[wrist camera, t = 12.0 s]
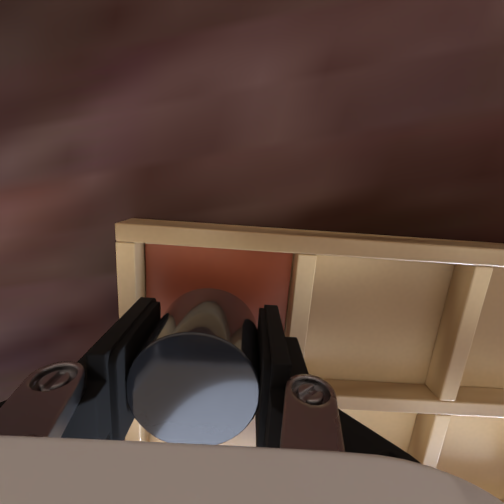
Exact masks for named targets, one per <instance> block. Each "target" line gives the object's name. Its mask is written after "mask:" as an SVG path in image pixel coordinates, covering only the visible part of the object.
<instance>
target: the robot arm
mask: <svg viewBox="0 0 504 504" xmlns="http://www.w3.org/2000/svg"><path fill="white" fill-rule="evenodd" d="M160 319H161V305H160V302H156V299H155V298H148V297H141V298H139V299H138V300H137V301H136V302H135V303H134V304H133V305H132V307H131V308H130V309H129V310H128V311H127V312H126V313H125V314H124V315H123V316H122V317H121V318H120V319H119V320H118V321H117V322H116V323H115V324H114V325H113V326H112V327H111V328H110V329H109V330H108V331H107V332H106V333H105V334H104V335H103V336H102V337H101V338H100V339H99V340H98V341H97V342H96V343H95V344H94V345H93V346H92V347H91V348H90V349H89V350H88V352H87V353H86V354H85V355H84V356H83V357H82V358H81V359H80V360H79V361H78V362H74V361H64V362H57V363H53V364H50V365H47V366H44V367H42V368H40V369H38V370H36V371H35V372H33V373H31V374H30V375H29V376H28V377H27V378H26V379H25V380H24V381H23V382H22V383H21V384H20V386H19V387H18V388H17V389H16V390H15V391H14V393H13V394H12V395H11V396H10V397H9V398H8V400H6V401H3V402H0V504H504V502H502V501H501V500H499V499H498V498H496V497H495V496H493V495H492V494H491V493H489V492H487V491H485V490H483V489H482V488H480V487H478V486H476V485H474V484H472V483H470V482H468V481H466V480H464V479H462V478H460V477H457V476H454V475H452V474H449V473H447V472H444V471H441V470H439V469H436V468H434V467H431V466H427V465H424V464H421V463H420V462H419V461H418V460H416V459H415V458H414V457H412V456H411V455H410V454H408V453H407V452H405V451H404V450H402V449H401V448H399V447H397V446H396V445H394V444H393V443H391V442H390V441H388V440H387V439H385V438H383V437H382V436H380V435H379V434H377V433H376V432H374V431H373V430H371V429H369V428H368V427H366V426H365V425H363V424H362V423H360V422H359V421H357V420H355V419H354V418H352V417H351V416H349V415H348V414H346V413H345V412H343V411H341V410H340V409H338V404H337V398H336V393H335V391H334V389H333V387H332V386H331V385H330V384H329V383H328V382H326V381H325V380H324V379H322V378H320V377H318V376H314V375H311V374H309V373H308V370H307V367H306V364H305V361H304V357H303V354H302V351H301V348H300V345H299V342H298V339H297V337H285V334H284V330H283V326H282V322H281V318H280V314H279V309H278V306H277V305H264V308H259V315H258V327H257V334H258V351H259V367H260V398H259V407H258V410H257V412H256V414H255V424H256V447H249V446H230V445H208V444H186V443H165V442H144V441H123V440H124V438H125V437H126V435H127V433H128V431H129V428H130V426H131V424H132V422H133V420H134V418H135V417H134V416H133V414H132V413H131V410H130V408H129V406H128V403H127V399H126V377H127V373H128V370H129V367H130V365H131V363H132V362H133V360H134V358H135V357H136V355H137V354H138V352H139V351H140V349H141V348H142V346H143V345H144V343H145V342H146V340H147V339H148V337H149V336H150V334H151V333H152V331H153V330H154V328H155V327H156V325H157V324H158V322H159V321H160Z"/></svg>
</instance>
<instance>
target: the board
mask: <svg viewBox="0 0 504 504" xmlns="http://www.w3.org/2000/svg"><path fill="white" fill-rule="evenodd" d="M115 235H116V241H118V242H116V263H117V284H118V305H119V319H120V318H121V317H122V316H123V315H124V314H125V313H126V312H127V311H128V310H129V309H130V308H131V307H132V305H133V304H134V303H135V302H136V301H137V300H138V299H139V298H141V297H148V298H155V299H156V302H160V305H161V318H162V316H163V315H164V313H165V312H166V310H167V309H168V307H169V306H170V305H171V304H172V303H173V302H174V301H175V300H176V299H177V298H178V297H180V296H181V295H183V294H185V293H187V292H190V291H192V290H196V289H203V288H213V289H219V290H223V291H226V292H229V293H231V294H233V295H235V296H236V297H238V298H239V299H241V300H242V301H243V302H244V303H245V304H246V305H247V306H248V308H249V309H250V310H251V312H252V314H253V316H254V318H255V321H256V324H257V327H258V315H259V308H264V305H277V306H278V309H279V314H280V318H281V322H282V326H283V330H284V334H285V337H297V339H298V342H299V345H300V348H301V351H302V354H303V357H304V361H305V364H306V367H307V370H308V373H309V374H311V375H314V376H318V377H320V378H322V379H324V380H325V381H326V382H328V383H329V384H330V385H331V386H332V387H333V389H334V391H335V393H336V398H337V404H338V409H340V410H341V411H343V412H345V413H346V414H348V415H349V416H351V417H352V418H354V419H355V420H357V421H359V422H360V423H362V424H363V425H365V426H366V427H368V428H369V429H371V430H373V431H374V432H376V433H377V434H379V435H380V436H382V437H383V438H385V439H387V440H388V441H390V442H391V443H393V444H394V445H396V446H397V447H399V448H401V449H402V450H404V451H405V452H407V453H408V454H410V455H411V456H412V457H414V458H415V459H416V460H418V461H419V462H420V463H421V464H424V465H427V466H431V467H434V468H436V469H439V470H441V471H444V472H447V473H449V474H452V475H454V476H457V477H460V478H462V479H464V480H466V481H468V482H470V483H472V484H474V485H476V486H478V487H480V488H482V489H483V490H485V491H487V492H489V493H491V494H492V495H493V496H495V497H496V498H498V499H499V500H501V501H502V502H504V243H493V242H478V241H463V240H449V239H434V238H420V237H405V236H390V235H376V234H361V233H346V232H332V231H317V230H303V229H288V228H273V227H259V226H244V225H229V224H215V223H200V222H186V221H171V220H156V219H142V218H131V219H128V220H125V221H121V222H117V223H115ZM125 441H144V442H164V441H162V440H160V439H158V438H156V437H154V436H153V435H151V434H150V433H149V432H147V431H146V430H145V429H144V428H143V427H142V426H141V425H140V424H139V423H138V422H137V420H136V419H135V418H134V420H133V422H132V424H131V426H130V428H129V431H128V433H127V435H126V437H125ZM165 443H166V442H165ZM219 445H230V446H249V447H256V424H255V416H254V418H253V420H252V421H251V422H250V424H249V425H248V426H247V427H246V428H245V429H244V430H243V431H242V432H241V433H240V434H239V435H237V436H236V437H234V438H232V439H231V440H229V441H227V442H224V443H222V444H219Z"/></svg>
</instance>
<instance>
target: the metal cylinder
mask: <svg viewBox="0 0 504 504" xmlns="http://www.w3.org/2000/svg"><path fill="white" fill-rule="evenodd" d="M259 398H260V367H259V351H258V334H257V324H256V321H255V318H254V316H253V314H252V312H251V310H250V309H249V308H248V306H247V305H246V304H245V303H244V302H243V301H242V300H241V299H239V298H238V297H236V296H235V295H233V294H231V293H229V292H226V291H223V290H219V289H213V288H203V289H196V290H192V291H190V292H187V293H185V294H183V295H181V296H180V297H178V298H177V299H176V300H175V301H174V302H173V303H172V304H171V305H170V306H169V307H168V309H167V310H166V312H165V313H164V315H163V316H162V318H161V319H160V321H159V322H158V324H157V325H156V327H155V328H154V330H153V331H152V333H151V334H150V336H149V337H148V339H147V340H146V342H145V343H144V345H143V346H142V348H141V349H140V351H139V352H138V354H137V355H136V357H135V358H134V360H133V362H132V363H131V365H130V367H129V370H128V373H127V377H126V399H127V403H128V406H129V408H130V410H131V413H132V414H133V416H134V417H135V419H136V420H137V422H138V423H139V424H140V425H141V426H142V427H143V428H144V429H145V430H146V431H147V432H149V433H150V434H151V435H153V436H154V437H156V438H158V439H160V440H162V441H164V442H166V443H186V444H208V445H219V444H222V443H224V442H227V441H229V440H231V439H232V438H234V437H236V436H237V435H239V434H240V433H241V432H242V431H243V430H244V429H245V428H246V427H247V426H248V425H249V424H250V422H251V421H252V420H253V418H254V416H255V414H256V412H257V410H258V407H259Z"/></svg>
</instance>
